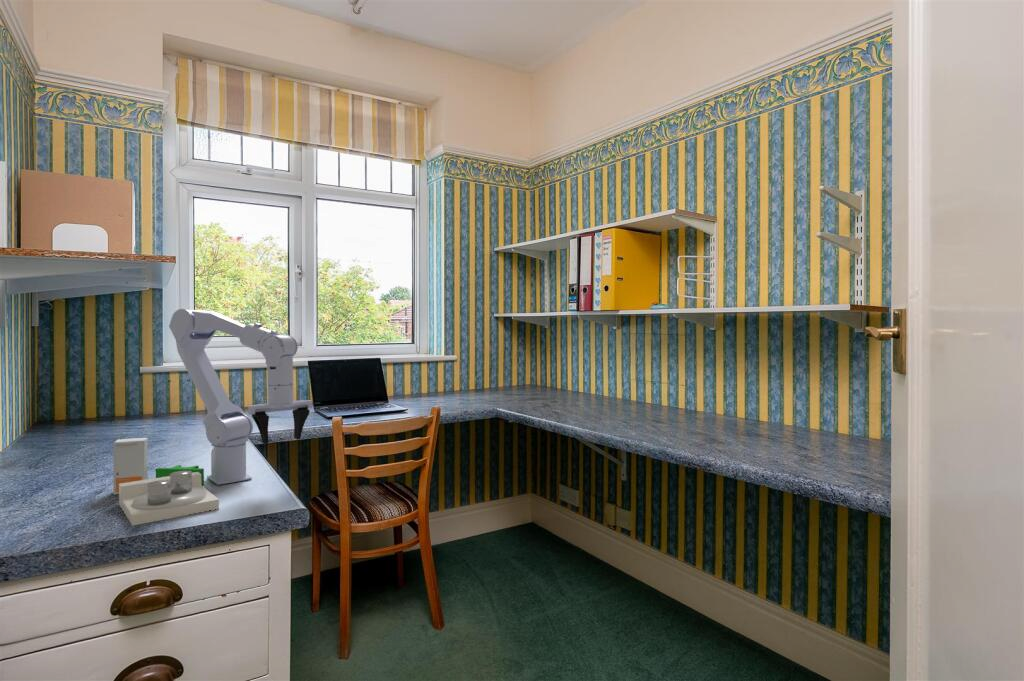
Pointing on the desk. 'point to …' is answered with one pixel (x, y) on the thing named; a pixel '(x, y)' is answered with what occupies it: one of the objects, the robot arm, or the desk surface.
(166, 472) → the pipe clamp
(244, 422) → the robot arm
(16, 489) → the desk surface
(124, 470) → the skincare box
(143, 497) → the scale
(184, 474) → the cylinder
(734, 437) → the desk surface
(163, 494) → the cylinder
